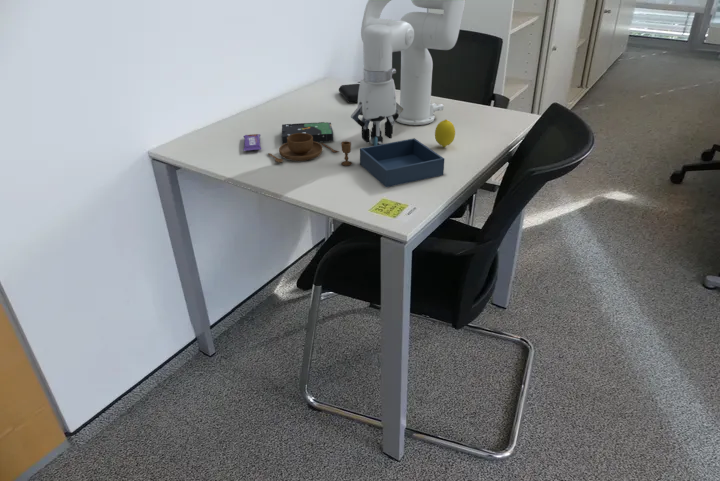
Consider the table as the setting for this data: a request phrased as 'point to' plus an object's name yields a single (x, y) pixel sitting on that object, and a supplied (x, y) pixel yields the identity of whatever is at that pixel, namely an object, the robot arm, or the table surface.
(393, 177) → the bin
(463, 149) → the table surface
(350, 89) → the carrying case
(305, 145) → the place setting
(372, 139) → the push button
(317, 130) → the disk drive
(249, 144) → the snack package
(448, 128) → the lemon
